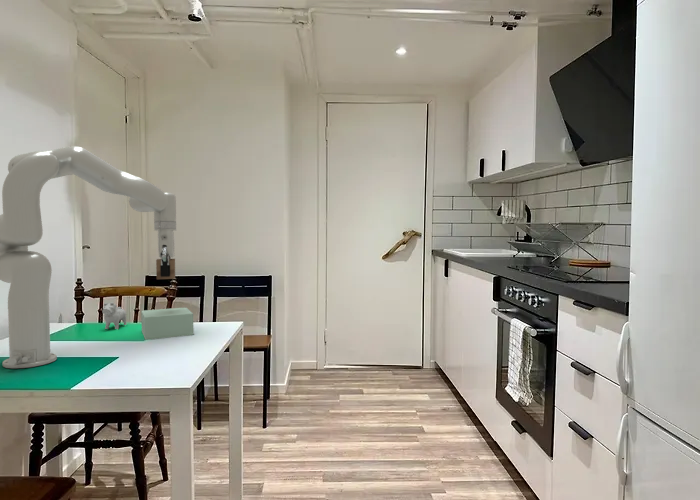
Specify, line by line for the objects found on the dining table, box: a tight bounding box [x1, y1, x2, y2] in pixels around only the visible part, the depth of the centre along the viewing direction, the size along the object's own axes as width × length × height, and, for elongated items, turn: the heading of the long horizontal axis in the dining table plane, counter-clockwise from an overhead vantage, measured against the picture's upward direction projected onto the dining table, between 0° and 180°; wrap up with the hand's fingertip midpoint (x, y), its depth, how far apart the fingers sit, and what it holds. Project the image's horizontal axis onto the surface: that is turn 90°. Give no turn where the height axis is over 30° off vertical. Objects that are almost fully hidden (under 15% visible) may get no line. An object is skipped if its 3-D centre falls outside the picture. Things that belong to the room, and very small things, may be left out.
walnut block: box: [155, 258, 176, 280], centre depth 168 cm, size 6×6×7 cm
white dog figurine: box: [101, 301, 128, 330], centre depth 177 cm, size 5×13×11 cm, turn 2°
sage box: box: [140, 307, 194, 341], centre depth 168 cm, size 16×16×8 cm
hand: (166, 275), depth 168 cm, fingers closed on walnut block, 6 cm apart
